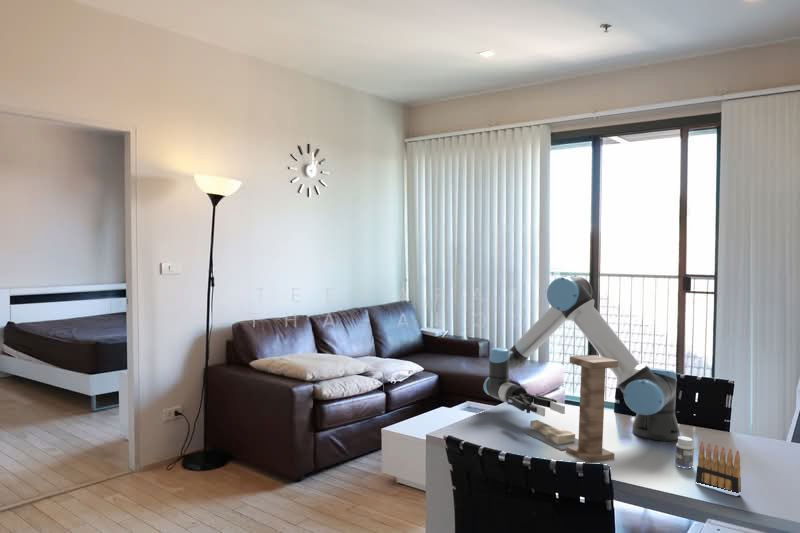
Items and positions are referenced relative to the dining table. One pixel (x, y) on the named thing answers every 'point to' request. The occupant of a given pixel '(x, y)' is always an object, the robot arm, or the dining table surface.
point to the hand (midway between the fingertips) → (554, 411)
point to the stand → (591, 408)
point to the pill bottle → (684, 452)
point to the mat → (544, 439)
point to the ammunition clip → (719, 469)
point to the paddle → (553, 432)
